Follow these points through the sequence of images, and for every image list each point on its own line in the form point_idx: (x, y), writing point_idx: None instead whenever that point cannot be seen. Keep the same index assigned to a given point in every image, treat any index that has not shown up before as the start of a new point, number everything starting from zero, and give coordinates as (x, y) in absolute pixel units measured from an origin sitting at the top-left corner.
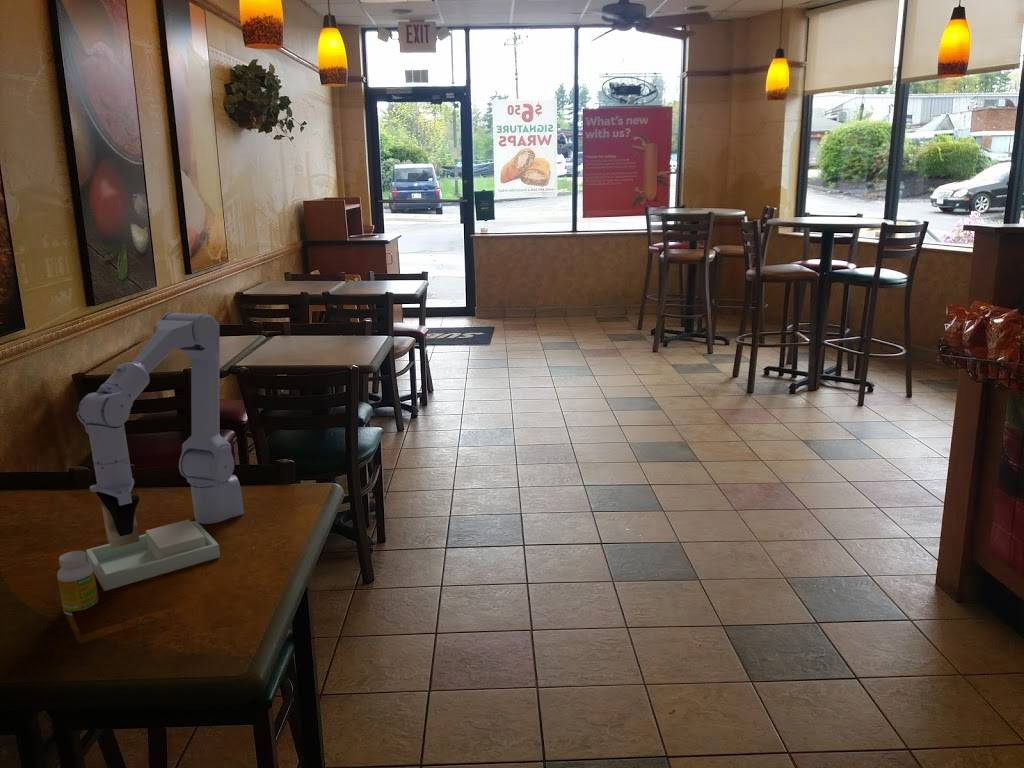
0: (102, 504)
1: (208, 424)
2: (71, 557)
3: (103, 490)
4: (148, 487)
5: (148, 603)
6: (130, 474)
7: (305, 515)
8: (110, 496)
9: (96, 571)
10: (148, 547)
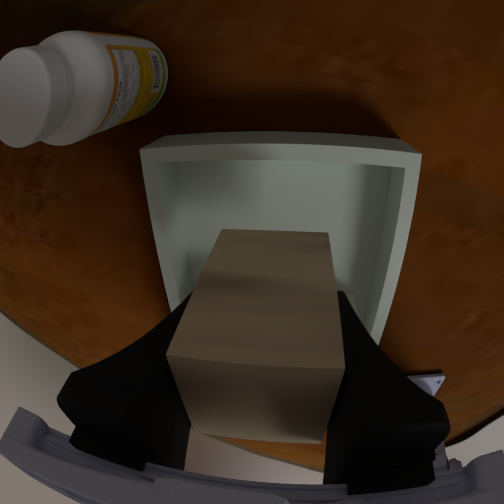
0: (332, 371)
1: None
2: (5, 96)
3: (108, 494)
4: None
5: (85, 214)
6: None
7: (294, 454)
8: (341, 433)
9: (241, 140)
10: (351, 296)
